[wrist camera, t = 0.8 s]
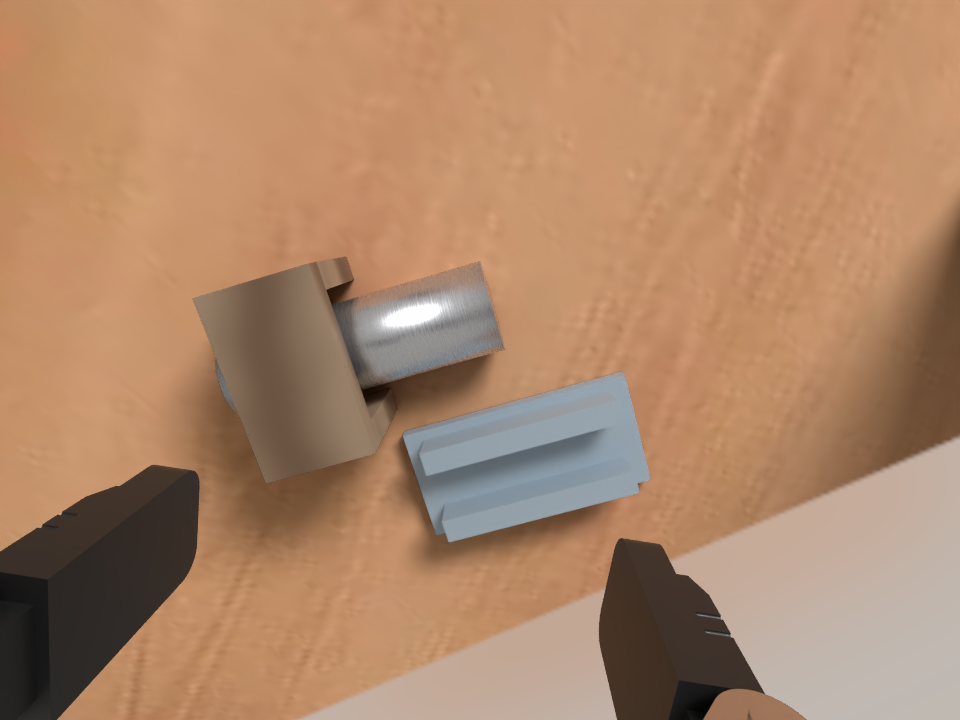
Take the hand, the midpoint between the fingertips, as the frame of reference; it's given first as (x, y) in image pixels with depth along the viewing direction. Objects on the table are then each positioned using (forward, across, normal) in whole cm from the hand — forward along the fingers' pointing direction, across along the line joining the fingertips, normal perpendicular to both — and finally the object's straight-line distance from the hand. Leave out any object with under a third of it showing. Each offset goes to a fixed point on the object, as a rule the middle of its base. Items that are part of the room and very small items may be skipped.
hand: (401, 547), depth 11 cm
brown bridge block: (+20, +7, +1) cm, 21 cm away
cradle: (+20, -4, +5) cm, 21 cm away
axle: (+20, +5, 0) cm, 20 cm away
